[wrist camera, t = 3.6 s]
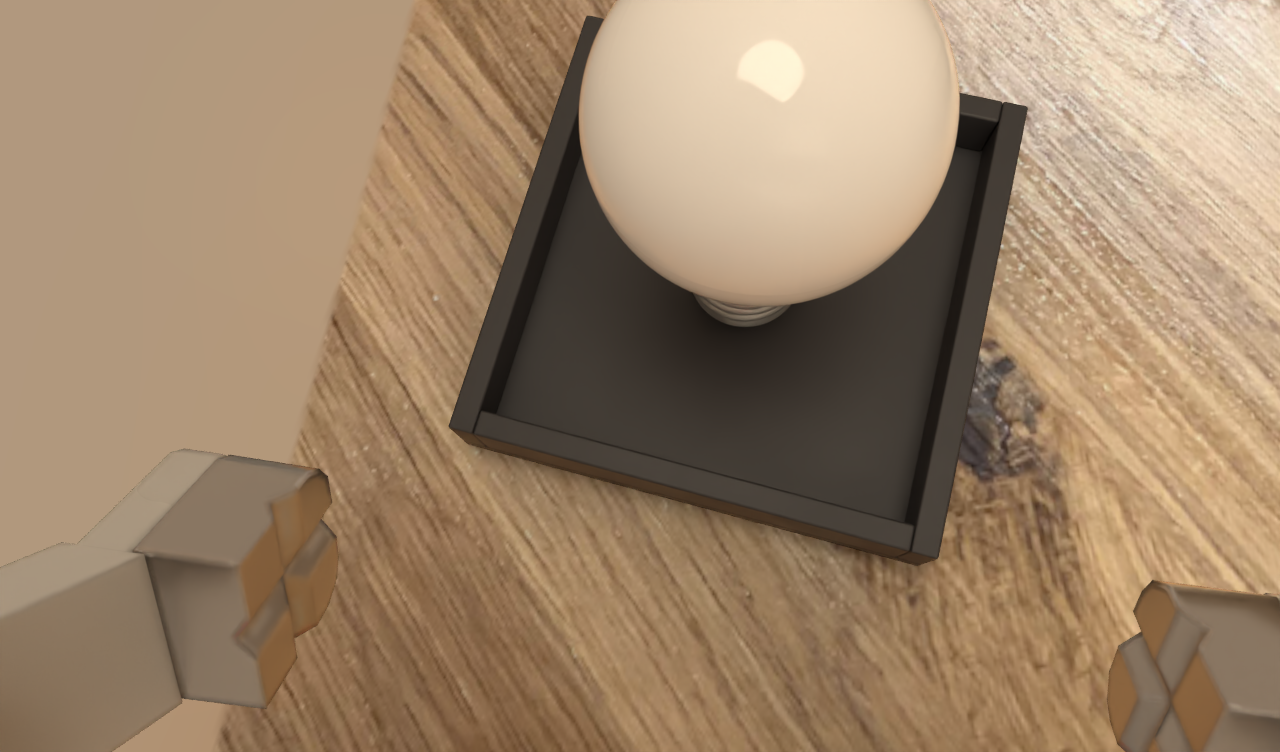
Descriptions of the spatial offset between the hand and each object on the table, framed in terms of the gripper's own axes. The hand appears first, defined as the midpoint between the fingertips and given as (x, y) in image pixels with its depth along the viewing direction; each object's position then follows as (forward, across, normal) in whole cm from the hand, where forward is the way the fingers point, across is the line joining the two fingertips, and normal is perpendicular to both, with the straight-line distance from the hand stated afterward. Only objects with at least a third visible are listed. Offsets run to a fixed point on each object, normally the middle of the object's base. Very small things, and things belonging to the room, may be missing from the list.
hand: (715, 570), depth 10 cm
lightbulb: (+15, 0, +4) cm, 15 cm away
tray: (+15, 0, +4) cm, 15 cm away
